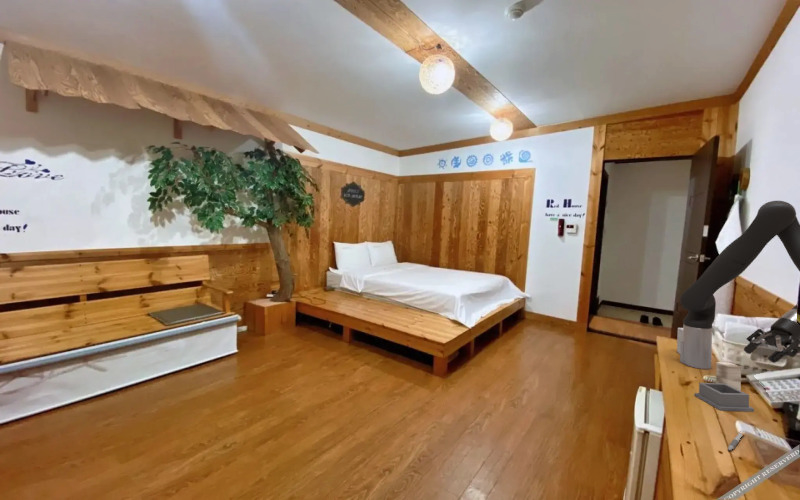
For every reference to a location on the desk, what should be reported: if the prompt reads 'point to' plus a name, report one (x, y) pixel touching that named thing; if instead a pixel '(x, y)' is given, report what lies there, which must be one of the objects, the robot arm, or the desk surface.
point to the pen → (735, 442)
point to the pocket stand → (724, 397)
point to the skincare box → (679, 339)
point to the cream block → (728, 374)
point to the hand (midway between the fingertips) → (758, 356)
